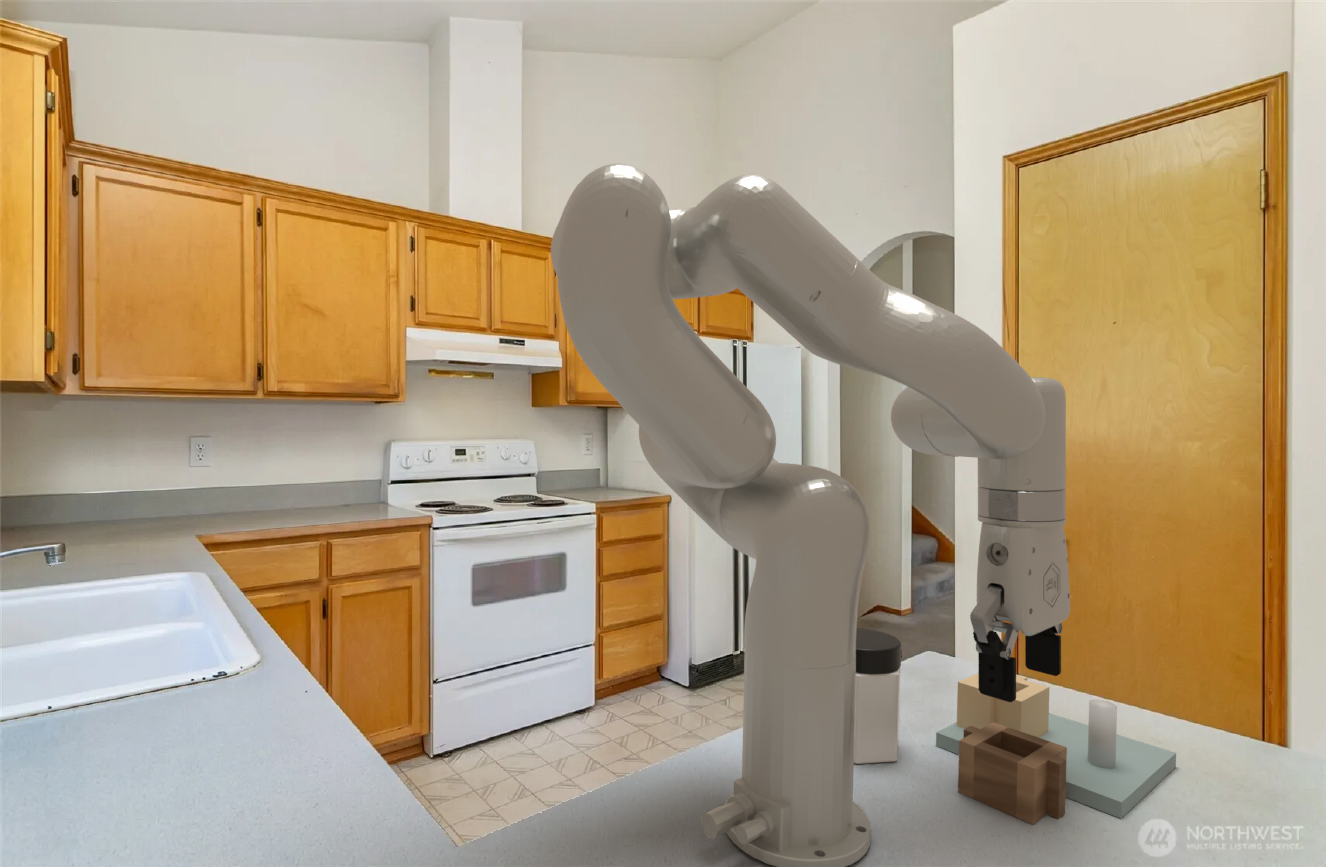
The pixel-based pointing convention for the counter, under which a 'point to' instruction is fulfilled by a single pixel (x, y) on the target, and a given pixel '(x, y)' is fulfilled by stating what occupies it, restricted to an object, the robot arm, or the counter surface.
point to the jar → (876, 697)
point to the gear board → (1069, 744)
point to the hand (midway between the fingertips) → (1021, 683)
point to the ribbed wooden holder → (1013, 772)
